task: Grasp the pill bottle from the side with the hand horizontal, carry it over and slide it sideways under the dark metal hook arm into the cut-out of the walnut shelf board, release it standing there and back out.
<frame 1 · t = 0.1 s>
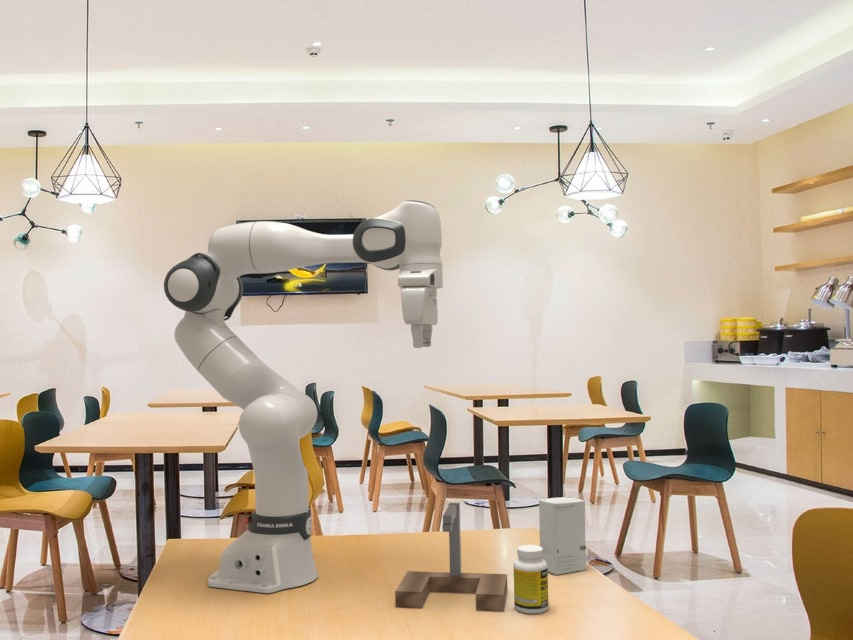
hand: (422, 347, 154), 48 cm above the table, tool pointing down, fingers open, 8 cm apart
hook arm: (451, 553, 144), in the cutout shelf
skincare box: (563, 570, 160), on the table
cutout shelf: (453, 598, 144), on the table
pill bottle: (531, 609, 137), on the table
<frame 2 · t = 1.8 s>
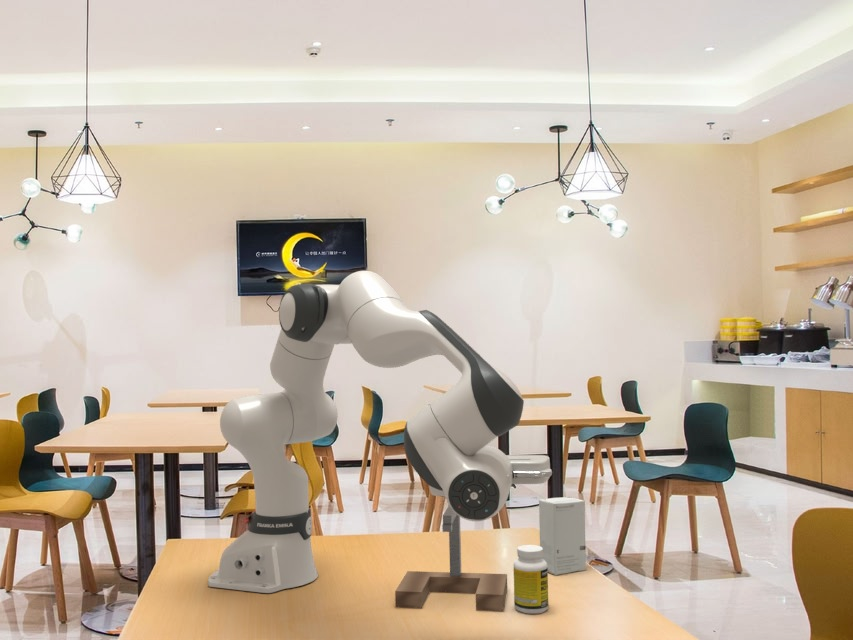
hand: (491, 461, 130), 28 cm above the table, tool horizontal, fingers open, 8 cm apart
nothing on the table moved.
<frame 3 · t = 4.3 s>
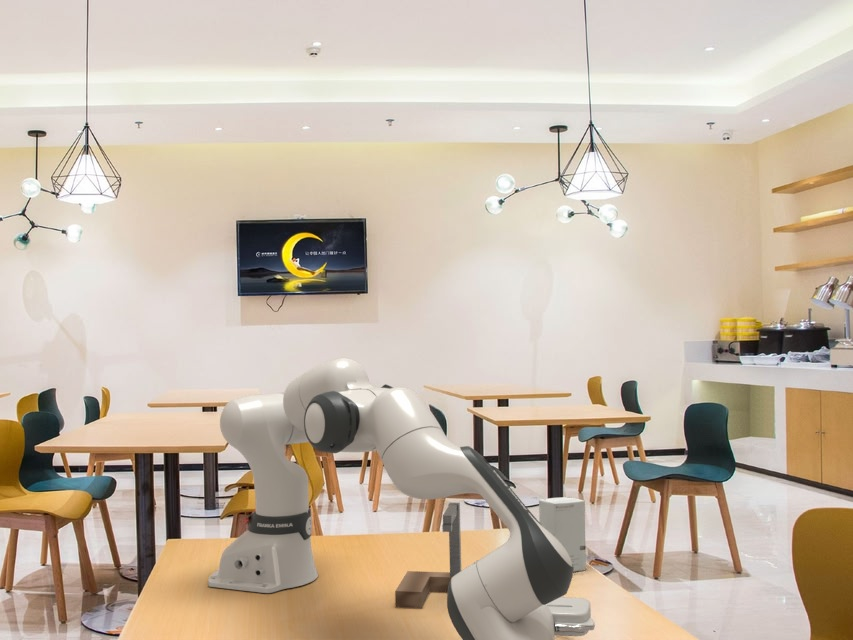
hand: (528, 596, 127), 6 cm above the table, tool horizontal, fingers open, 8 cm apart
nothing on the table moved.
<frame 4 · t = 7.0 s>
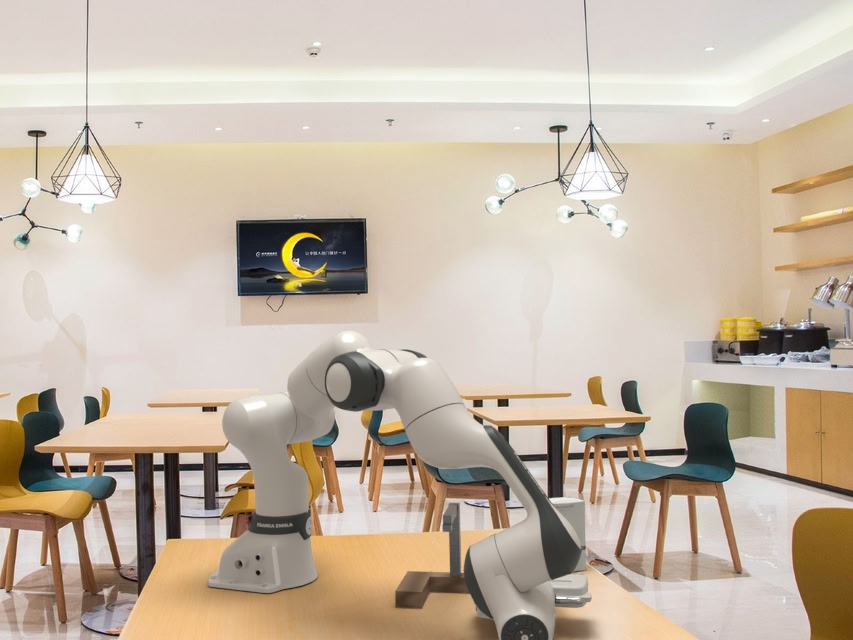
hand: (530, 573, 138), 6 cm above the table, tool horizontal, fingers closed on pill bottle, 6 cm apart
pill bottle: (531, 609, 137), on the table, touching gripper
everything else where it was.
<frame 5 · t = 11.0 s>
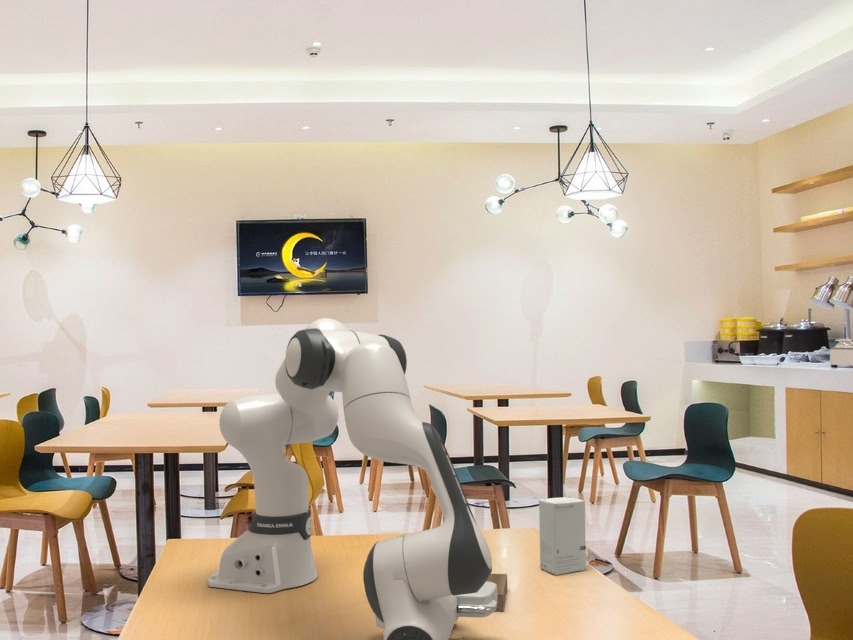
hand: (442, 580, 131), 7 cm above the table, tool horizontal, fingers closed on pill bottle, 6 cm apart
pill bottle: (440, 621, 130), point 1 cm above the table, touching gripper
everything else where it was.
when the fingers open (7 cm above the table, at t = 14.5 s): pill bottle moves 1 cm, on the table.
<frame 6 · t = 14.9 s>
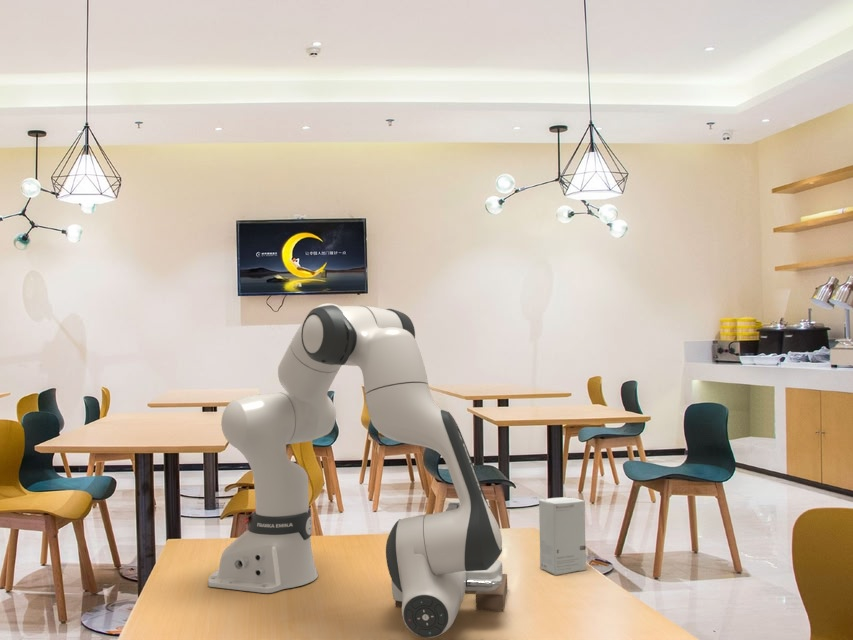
hand: (451, 559, 143), 7 cm above the table, tool horizontal, fingers open, 8 cm apart
pill bottle: (446, 601, 142), on the table, touching gripper
everything else where it was.
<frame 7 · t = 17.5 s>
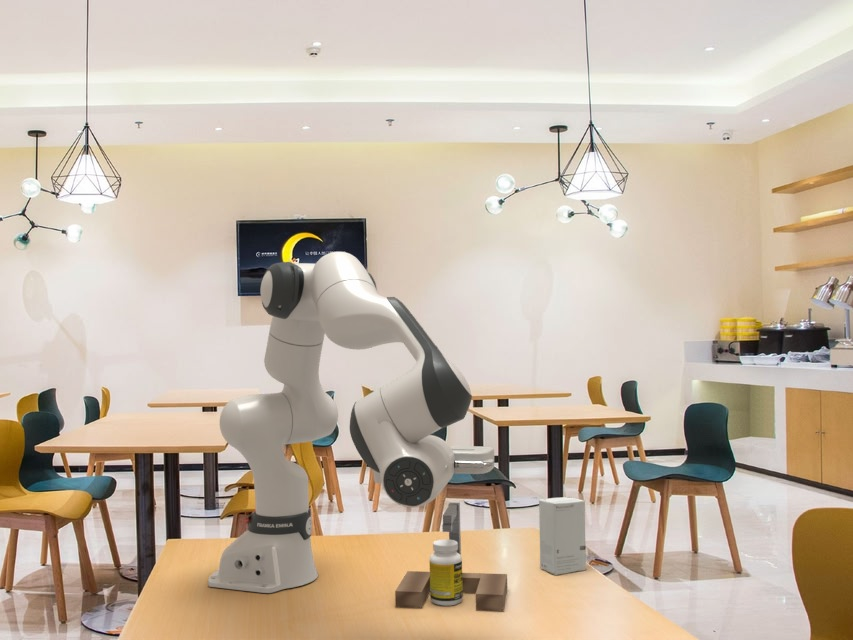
hand: (439, 451, 132), 30 cm above the table, tool horizontal, fingers open, 8 cm apart
pill bottle: (446, 602, 142), on the table
everything else where it was.
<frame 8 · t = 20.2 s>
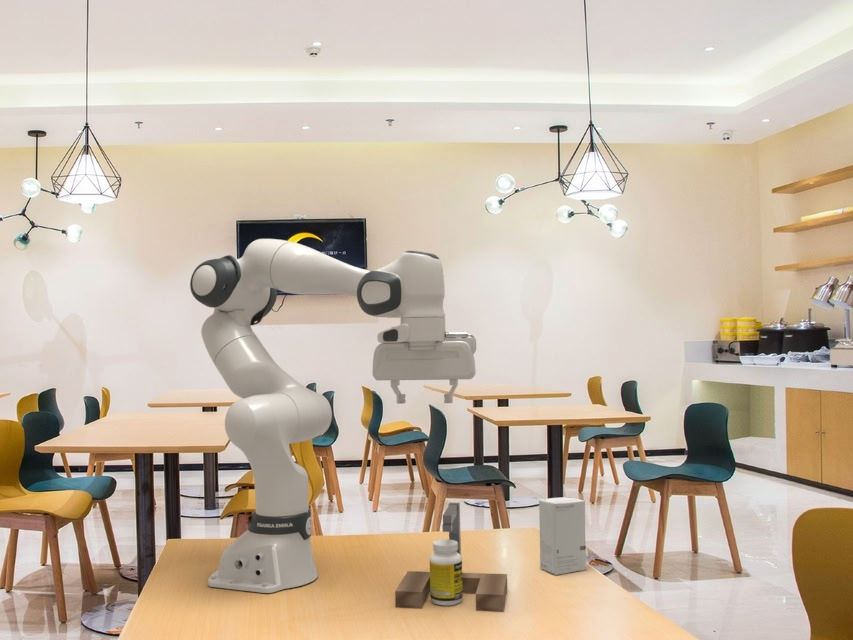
hand: (424, 403, 148), 37 cm above the table, tool pointing down, fingers open, 8 cm apart
nothing on the table moved.
at the end: pill bottle inside the target area on the cutout shelf (1.0 cm from its centre), point 0.0 cm above the cutout shelf's base; pill bottle tilted 0°; the gripper is holding nothing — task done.
